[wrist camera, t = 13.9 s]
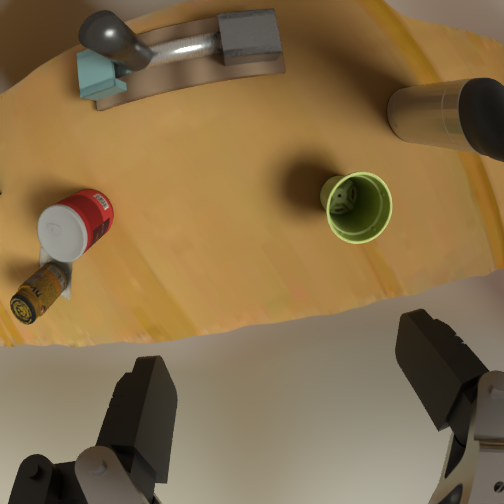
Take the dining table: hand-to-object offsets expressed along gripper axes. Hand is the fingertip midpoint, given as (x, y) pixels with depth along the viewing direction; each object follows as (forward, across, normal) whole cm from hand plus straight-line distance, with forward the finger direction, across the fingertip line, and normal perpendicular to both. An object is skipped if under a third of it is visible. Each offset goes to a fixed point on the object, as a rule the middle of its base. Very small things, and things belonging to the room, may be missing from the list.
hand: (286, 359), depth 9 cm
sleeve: (+35, -3, -20) cm, 40 cm away
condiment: (+36, +36, +9) cm, 52 cm away
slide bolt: (+34, +8, -20) cm, 40 cm away
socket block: (+35, +16, -20) cm, 43 cm away
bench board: (+36, +6, -20) cm, 42 cm away
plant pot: (+36, -14, +4) cm, 39 cm away
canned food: (+36, +24, 0) cm, 44 cm away
